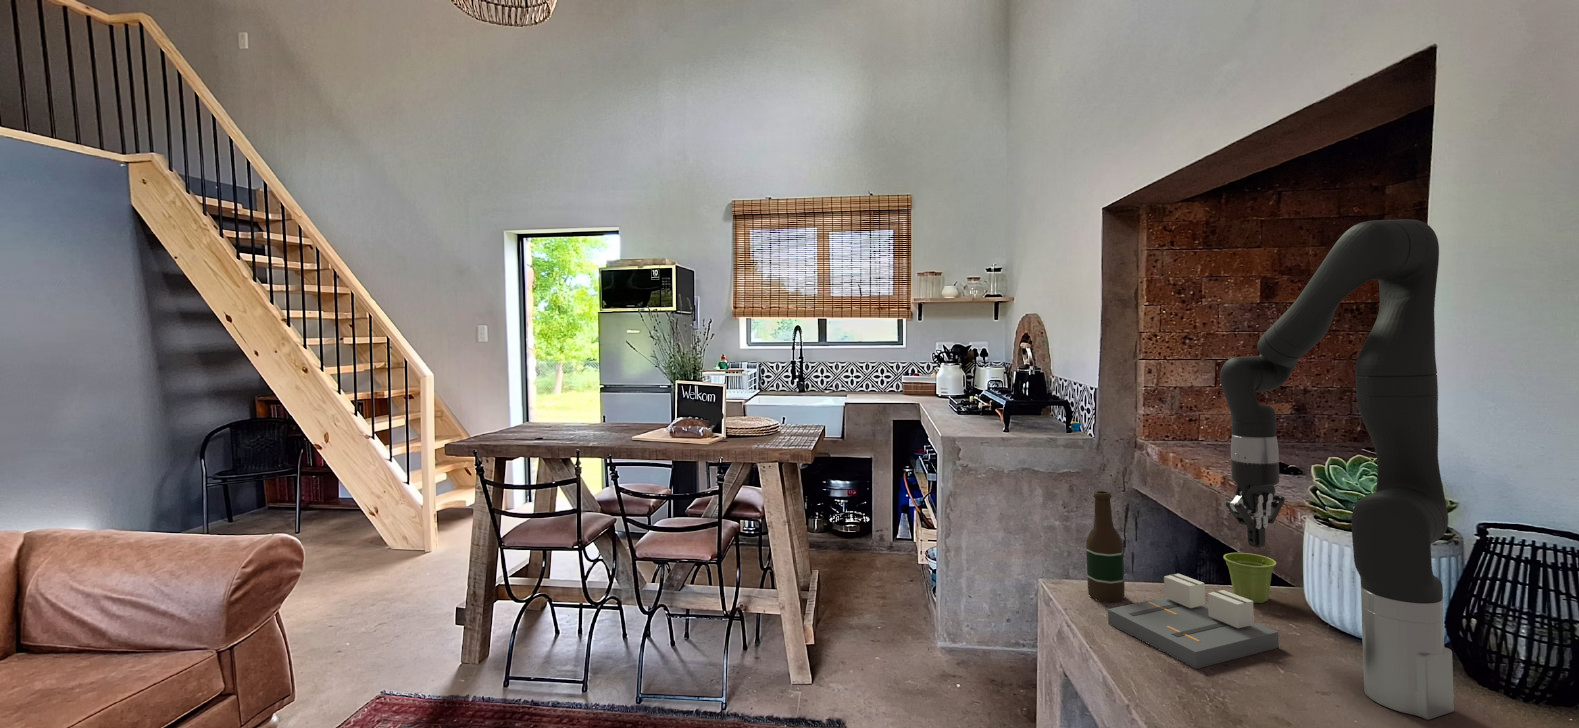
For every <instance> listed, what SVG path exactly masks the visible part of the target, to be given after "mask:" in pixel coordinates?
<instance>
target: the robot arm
mask: <svg viewBox="0 0 1579 728" xmlns="http://www.w3.org/2000/svg"><path fill="white" fill-rule="evenodd" d="M1439 260H1440V245H1439V238H1438V236H1437V234H1436V232H1435V230H1434V229H1433V228H1432V227H1431V226H1430V225H1429V224H1427V223H1426V222H1424V221H1421V220H1419V219H1412V218H1411V219H1410V218H1409V219H1408V218H1407V219H1405V218H1403V219H1402V218H1401V219H1373V220H1368V221H1362V222H1358V223H1356V224H1355V225H1352V226H1351V227H1350V228H1349V229H1347V230H1346V231H1345V232H1344V233H1343V234H1342V235H1341V236H1340V237H1339V238H1338V239H1337V241H1336V242H1335V243H1334V245H1333V246H1332V248H1331V249H1330V251H1328V254H1326V257H1325V258H1324V259H1323V261H1322V262H1321V264H1320V266H1318V268H1317V270H1316V271H1315V272H1314V274H1313V275H1312V276H1311V278H1310V279H1309V281H1308V282H1307V284H1306V286H1305V287H1304V289H1302V291H1301V293H1299V295H1298V297H1297V298H1296V299H1295V301H1294V302H1293V303H1292V304H1291V306H1289V308H1288V309H1287V310H1286V311H1285V312H1284V313H1283V314H1281V316H1280V317H1279V318H1278V319H1277V320H1276V321H1275V322H1274V324H1271V326H1270V327H1269V328H1268V329H1267V330H1266V331H1265V332H1264V333H1263V334H1262V336H1261V337H1259V339H1258V341H1257V343H1256V344H1257V347H1256V348H1257V352H1258V353H1259V355H1252V356H1250V355H1249V356H1236V357H1235V356H1234V357H1231V358H1229V359H1227V361H1225V362H1224V364H1223V365H1222V368H1221V370H1220V372H1219V380H1220V384H1221V388H1222V391H1223V394H1224V396H1225V400H1226V402H1227V406H1228V408H1229V409H1228V410H1229V411H1230V414H1231V415H1230V416H1231V441H1230V466H1231V467H1230V468H1231V469H1230V470H1231V474H1230V475H1231V480H1232V481H1233V482H1234V483H1235V484H1236V489H1235V491H1234V492H1235V497H1234V498H1233V499H1232V500H1227V501H1226V502H1225V506H1226V507H1227V509H1228V510H1229V512H1230V513H1231V514H1232V516H1233V518H1234V519H1235V520H1236V522H1237V523H1238V524H1239V525H1242V526H1245V527H1246V528H1247V529H1246V530H1247V543H1248V545H1249V546H1251V547H1254V548H1257V549H1258V548H1265V546H1266V529H1267V528H1268V526H1269V524H1271V525H1272V524H1274V523H1275V521H1276V519H1277V517H1278V515H1279V513H1280V511H1281V509H1282V507H1283V505H1284V503H1285V500H1286V499H1285V496H1281V495H1278V494H1277V493H1276V488H1275V486H1276V485H1278V484H1279V483H1280V460H1279V459H1280V458H1279V457H1280V455H1279V454H1280V453H1279V444H1278V443H1279V442H1278V439H1277V438H1278V437H1277V414H1276V410H1275V409H1274V408H1273V407H1272V406H1270V405H1267V404H1261V403H1259V401H1258V398H1257V395H1256V393H1262V392H1265V393H1266V392H1271V391H1274V390H1276V389H1278V388H1279V387H1282V386H1283V385H1284V384H1285V383H1286V382H1287V381H1288V379H1289V377H1290V376H1291V375H1292V372H1293V370H1295V367H1296V366H1297V363H1298V362H1299V360H1300V359H1302V358H1303V357H1304V356H1305V355H1306V354H1307V353H1308V352H1309V351H1311V350H1312V348H1313V347H1315V346H1316V345H1317V344H1318V343H1319V342H1320V341H1321V340H1322V339H1323V338H1324V336H1325V335H1326V334H1327V333H1328V331H1329V329H1330V326H1331V325H1332V322H1333V318H1334V315H1335V314H1336V313H1335V312H1336V310H1337V308H1338V307H1339V305H1340V304H1341V302H1343V300H1344V299H1346V298H1347V297H1348V296H1349V295H1350V294H1351V293H1352V292H1354V291H1355V290H1357V289H1358V288H1359V287H1361V286H1362V285H1364V284H1366V283H1367V282H1369V281H1378V287H1379V288H1378V289H1379V290H1378V291H1379V305H1378V306H1379V307H1378V313H1377V318H1376V320H1375V322H1374V324H1373V326H1372V329H1371V330H1370V332H1369V334H1368V336H1367V337H1366V339H1365V341H1364V343H1363V345H1362V347H1361V349H1360V352H1359V354H1358V356H1357V359H1356V362H1355V363H1356V364H1355V390H1356V402H1357V403H1356V404H1357V408H1358V412H1359V413H1360V414H1359V415H1360V416H1361V420H1362V422H1363V424H1364V426H1365V429H1366V431H1367V433H1368V435H1369V437H1370V440H1371V442H1372V444H1373V446H1374V447H1373V448H1374V450H1375V454H1376V463H1377V464H1376V465H1377V469H1376V471H1377V473H1376V474H1377V475H1376V487H1375V492H1372V493H1370V494H1366V495H1365V496H1364V497H1362V498H1360V499H1359V500H1358V501H1357V502H1356V503H1355V505H1354V506H1353V510H1352V514H1351V538H1352V549H1353V550H1352V551H1353V559H1354V560H1353V562H1354V566H1355V569H1356V571H1357V573H1358V575H1359V577H1360V598H1361V600H1360V601H1361V602H1360V604H1361V606H1360V608H1361V637H1362V667H1363V679H1362V680H1363V690H1364V693H1365V695H1366V696H1367V697H1368V699H1369V698H1370V699H1371V700H1372V701H1374V702H1375V703H1377V704H1379V705H1381V706H1384V707H1386V708H1389V709H1391V710H1394V711H1396V712H1400V713H1404V714H1408V715H1412V716H1413V715H1414V716H1416V717H1417V716H1418V717H1420V718H1423V720H1431V719H1434V718H1437V717H1438V718H1439V717H1440V716H1444V715H1447V714H1450V713H1453V712H1454V711H1455V707H1454V706H1455V705H1454V703H1455V702H1454V675H1453V674H1454V673H1453V672H1454V671H1453V670H1454V669H1453V668H1454V667H1453V651H1452V649H1450V648H1448V647H1446V646H1445V641H1444V640H1445V637H1444V636H1445V635H1444V634H1445V632H1444V593H1443V591H1444V589H1443V583H1442V581H1441V580H1440V578H1438V577H1437V576H1435V575H1434V572H1433V564H1432V544H1434V543H1436V542H1438V541H1439V540H1440V539H1441V538H1442V537H1443V536H1444V534H1445V533H1446V532H1447V529H1448V527H1449V513H1448V511H1449V510H1448V506H1447V501H1446V497H1445V491H1444V488H1443V481H1442V475H1441V470H1440V465H1439V463H1440V462H1439V413H1438V412H1439V410H1438V409H1439V408H1438V407H1439V389H1438V388H1439V386H1438V385H1439V384H1438V383H1439V382H1438V371H1437V370H1438V368H1437V362H1436V361H1437V360H1436V335H1435V334H1436V328H1435V327H1436V326H1435V307H1436V293H1437V290H1436V289H1437V282H1438V281H1437V280H1438V272H1439V263H1440V262H1439Z"/></svg>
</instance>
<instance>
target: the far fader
mask: <svg viewBox="0 0 1579 728" xmlns="http://www.w3.org/2000/svg"><path fill="white" fill-rule="evenodd" d="M1163 583H1164V585H1163V586H1164V588H1163V589H1164V597H1165V598H1167V599H1170V600H1172V601H1174V602H1177V603H1179V604H1181V605H1184V606H1186V607H1189V608H1193V607H1198V606H1203V605H1205V603H1206V588H1205V587H1206V585H1205V582H1203V581H1200V580H1197V579H1194V578H1191V577H1189V576H1186V575H1183V574H1181V573H1175V574H1173V573H1171V574H1169V575H1165V576H1163Z"/></svg>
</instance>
